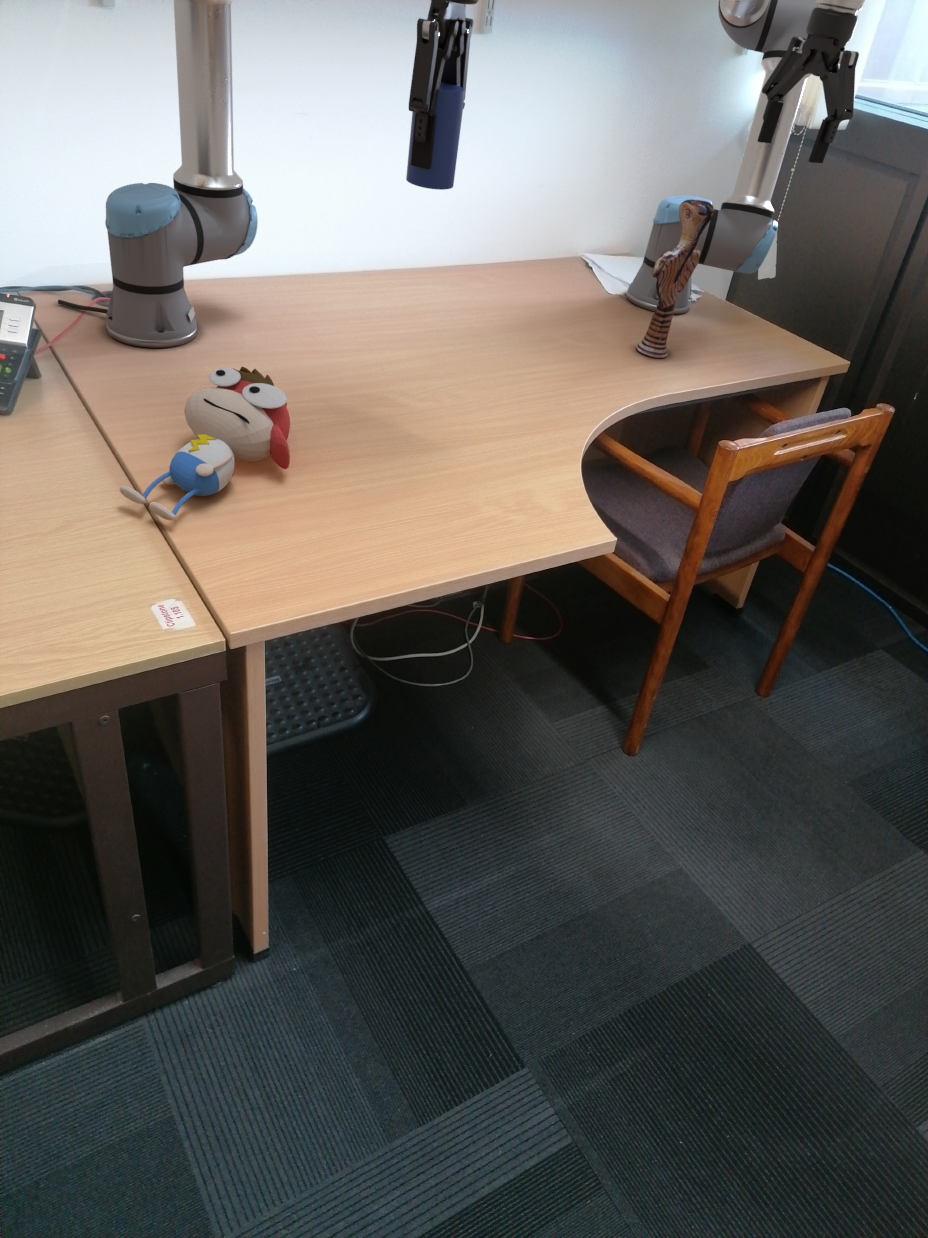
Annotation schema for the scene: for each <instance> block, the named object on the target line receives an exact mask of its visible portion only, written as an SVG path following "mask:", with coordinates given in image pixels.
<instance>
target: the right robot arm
mask: <svg viewBox="0 0 928 1238" xmlns="http://www.w3.org/2000/svg"><path fill="white" fill-rule="evenodd" d="M865 2H866V0H718V4H717V5H718V6H717V7H718V9H717V11H718V18H719V21H720V24H721V26H722V28H723V30H724V32H725V33H726V34H727V35H728V37H729V38H730V39H731V40H732V41H733V42H734V43H735V44H736V45H738V46H740V47H741V48H743V49H745V50H748V51H754V52H756V53H757V52H758V53H762V54H763V55H762V58H761V62H760V64H761V66H762V69H763V70H764V72H765V75H764V77H763V82H762V85H761V89H760V92H759V96H758V100H757V103H756V106H755V109H754V113H753V117H752V121H751V124H750V128H749V131H748V134H747V139H746V142H745V146H744V149H743V154H742V155H741V160H740V164H739V167H738V171H737V174H736V177H735V181H734V185H733V189H732V192H731V194H730V196H728V197H727V198H725V199H724V200H722V203H721V205H720V209H715V208H714V214H713V217H712V219H711V220H710V221H709V223H708V224H707V226H706V227H705V229H704V230H703V232H702V234H701V235H700V237H699V240H698V243H697V245H696V248H698V249H699V251H700V256H699V263H698V264H697V265H702V266H705V267H711V268H717V269H721V270H724V271H725V270H726V271H730V272H733V273H741V274H742V273H743V274H748V275H749V274H754V273H756V272H758V270H759V269H760V268H761V267H762V264H763V263H764V261H765V259H766V258H767V256H768V254H769V252H770V249H771V247H772V246H773V242H774V240H775V238H776V234H777V231H778V227H779V223H778V221H776V220H775V219H773V218H774V215H775V212H776V211H775V209H774V208H773V205H772V202H771V201H772V198H773V194H774V190H775V188H776V184H777V180H778V177H779V173H780V171H781V167H782V163H783V161H784V157H785V153H786V150H787V147H788V144H789V141H790V136H791V133H792V130H793V127H794V123H795V119H796V116H797V113H798V110H799V106H800V103H801V99H802V96H803V92H804V90H805V87H806V83H807V80H808V79H809V78H811V77H812V76H815V77H819V80H820V81H821V82H822V88H823V95H824V102H825V108H826V115H827V116H825V117H824V118H823V119H822V121H821V123H820V127H819V130H818V132H817V135H816V138H815V141H814V143H813V147H812V150H811V152H810V155H809V158H808V162H809V163H812V164H813V163H814V164H823V163H824V160H825V157H826V155H827V152H828V149H829V147H830V144H832V143H833V141H834V140H835V137H836V134H837V132H838V129H839V126H840V124H841V123H842V122H844V121H850V120H852V119H853V117H854V106H855V87H856V86H855V84H856V68H857V65H858V64H857V63H858V60H859V57H860V53H859V51H855V50H847V49H846V45H847V43H848V42H850V41H851V40H852V38H853V35H854V32H855V29H856V27H857V24H858V21H859V17H858V16H859V15H857V13H858V12H860V11H862V10H863V7H864V4H865ZM691 199H693V200H701V201H707V202H709V203H711V204H712V205H713V201H712V200H710V199H708V198H704V197H703V198H702V197H701V196H695V195H673V196H668V197H665V198H663V199H662V200H661V201H660V202H659V203H658V206H657V208H656V211H655V215H654V217H653V219H652V227H651V230H650V234H649V238H648V242H647V246H646V249H645V253H644V256H643V261H642V263H641V266H640V268H639V269H638V271H637V272H636V275H635V276H634V278H633V280H632V281H631V283H630V284H629V286H628V288H627V292H626V299H627V300H628V301H629V302H631V303H632V304H633V305H635V306H637V307H639V308H642V309H645V310H646V311H647V310H648V311H651V312H654V311H655V309H656V307H657V304H658V302H659V298H658V296H657V290H656V282H657V278H654V277H653V275H652V271H653V269H654V265H655V263H656V262H657V260H658V259H660V256H661V255H662V254H663V253H664V252H665V251H670V252H672V251H673V250H674V248H675V247H677V246H678V244H679V242H680V238H681V231H682V228H681V222H680V218H679V207H680V204H681V203H682V202H683V201H685V200H691ZM692 275H693V274H692ZM692 275H691V277H690V278H689V280H688V282H687V284H686V286H685V287H684V289H683V290H682V291H681V292H678V293H677V298H676V301H675V305H674V312H673V315H681V314H685V313H688V312H689V311H690V308H691V305H692V301H693V297H692Z"/></svg>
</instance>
